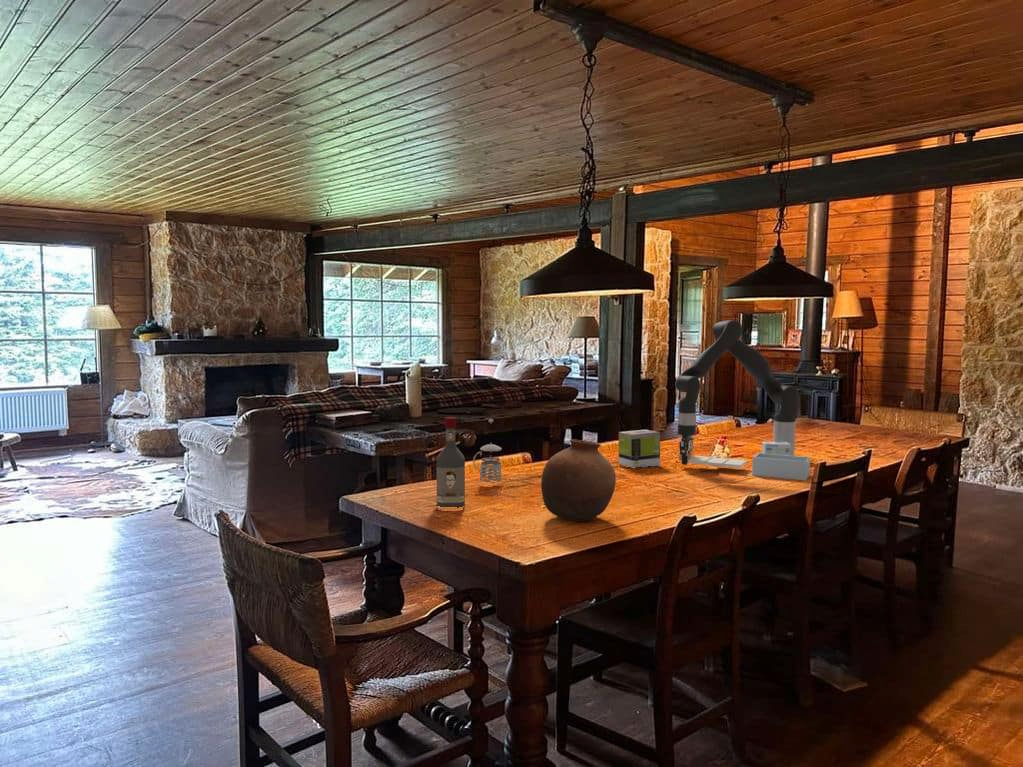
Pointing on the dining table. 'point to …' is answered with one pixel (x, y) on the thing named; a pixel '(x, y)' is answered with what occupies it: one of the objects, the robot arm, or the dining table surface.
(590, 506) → the pottery
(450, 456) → the liquor
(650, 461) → the tea box
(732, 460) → the lid
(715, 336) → the robot arm
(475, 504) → the dining table surface
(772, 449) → the light bulb box
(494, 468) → the french press
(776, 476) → the tub
